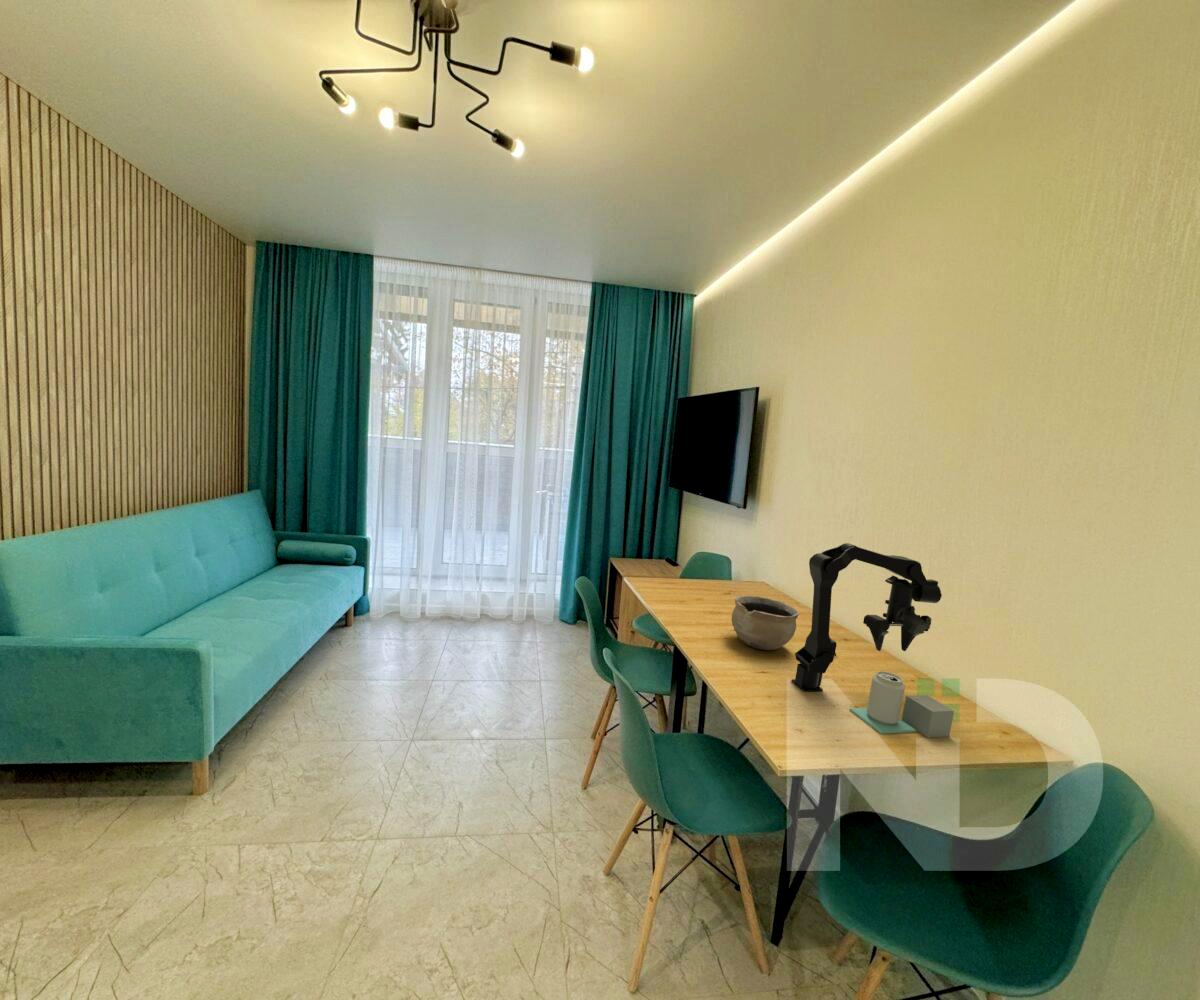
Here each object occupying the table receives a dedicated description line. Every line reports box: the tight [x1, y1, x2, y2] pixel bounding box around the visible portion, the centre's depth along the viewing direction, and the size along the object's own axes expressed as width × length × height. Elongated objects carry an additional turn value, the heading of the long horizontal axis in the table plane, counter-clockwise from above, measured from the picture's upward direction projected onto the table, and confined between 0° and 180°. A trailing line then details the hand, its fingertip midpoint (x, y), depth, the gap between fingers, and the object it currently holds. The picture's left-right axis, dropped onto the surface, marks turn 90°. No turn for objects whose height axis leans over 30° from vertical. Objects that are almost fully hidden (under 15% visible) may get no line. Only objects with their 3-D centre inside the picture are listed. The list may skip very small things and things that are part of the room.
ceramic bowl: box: [731, 595, 800, 651], centre depth 179 cm, size 22×22×15 cm
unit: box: [901, 694, 955, 739], centre depth 133 cm, size 7×8×7 cm
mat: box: [849, 707, 917, 735], centre depth 134 cm, size 11×11×1 cm
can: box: [866, 670, 906, 725], centre depth 133 cm, size 8×8×12 cm
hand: (891, 650), depth 151 cm, fingers open, 9 cm apart
